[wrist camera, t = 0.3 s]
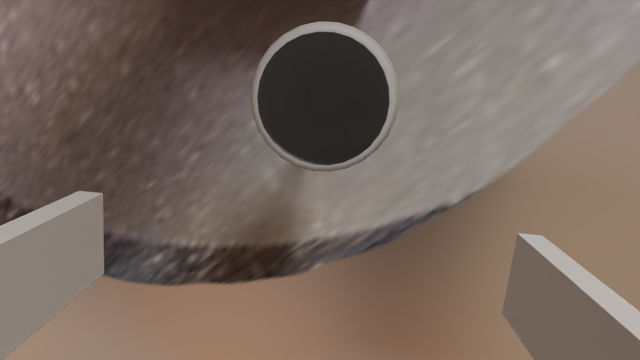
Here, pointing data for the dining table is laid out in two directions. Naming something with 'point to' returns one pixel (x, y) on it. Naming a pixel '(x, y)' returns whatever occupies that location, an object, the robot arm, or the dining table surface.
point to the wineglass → (325, 96)
